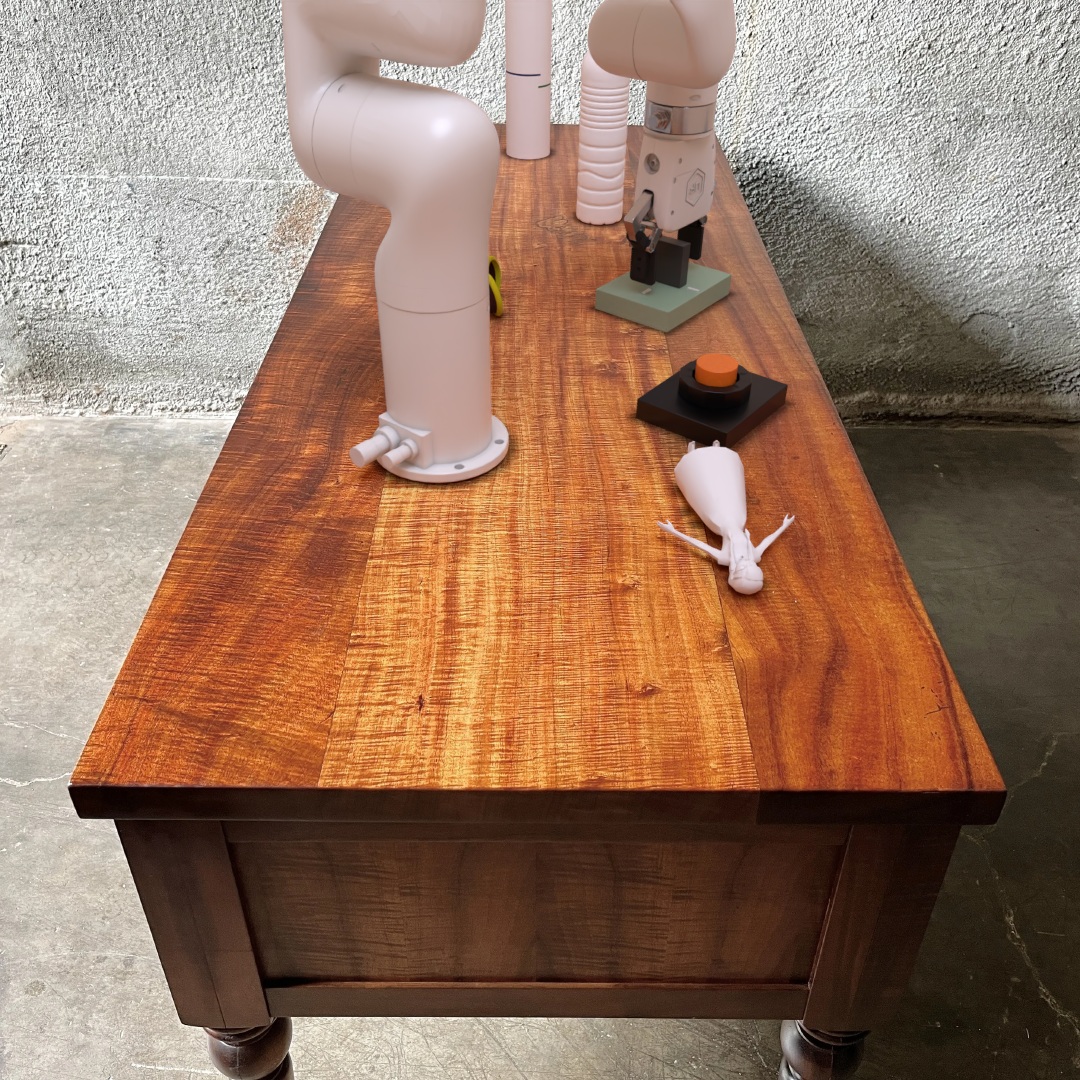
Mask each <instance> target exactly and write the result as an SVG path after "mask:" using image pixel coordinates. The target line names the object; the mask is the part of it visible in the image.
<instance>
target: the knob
mask: <svg viewBox="0 0 1080 1080" xmlns="http://www.w3.org/2000/svg"><path fill="white" fill-rule="evenodd" d="M650 235H651V233H649V234H648V235H646V236H647V237H648V239H649V237H650ZM690 244H691V243H688V242H685V241H681V240H678V239H677V238H674V237H670V236H666V235H663V233H662V234H661V236H660V238H659V240H658V243H657V245H656V247H655V249H654V250H656V251H658V259H657V271H656V281H657V282H660V283H663V284H666V285H670V286H673V287H676V288H681V287H683V286H684V285H686V284H687V274H688V264H689V262H690V258H689V254H690Z"/></svg>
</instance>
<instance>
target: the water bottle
mask: <svg viewBox="0 0 1080 1080" xmlns="http://www.w3.org/2000/svg"><path fill="white" fill-rule="evenodd" d="M580 82H581V83H580V104H579V109H580V110H579V127H578V140H579V142H578V149H577V153H578V158H577V170H578V172H577V177H576V178H577V187H576V197H577V199H576V207H575V215H576V218H577V220H579V221H581V222H583V223H585V224H591V225H596V226H603V225H613V224H615V223H618V222H620V221H621V219H622V218H623V213H624V212H623V211H624V200H623V199H624V191H625V190H624V189H625V188H624V187H625V186H624V184H625V174H626V169H625V166H626V156H627V143H626V142H627V139H628V121H629V119H628V117H629V103H630V90H631V89H630V88H631V85H630V83H631V78H625V77H621V76H616V75H613V74H611V73H608V72H606V71H604V70H603V69H601V68H600V67H599V66H598V65H597V64H596V63H595V61H594V60H593V58H592V56H591V54H590V52H589V49H588V50H587V52H586V53H585V54H584V56H583V57H582V60H581V66H580Z"/></svg>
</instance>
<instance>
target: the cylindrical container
mask: <svg viewBox="0 0 1080 1080" xmlns="http://www.w3.org/2000/svg"><path fill="white" fill-rule="evenodd" d="M552 35H553V0H504V42H505V43H504V44H505V45H504V48H505V49H504V50H505V52H504V53H505V56H504V57H505V140H506V141H505V144H506V145H505V146H506V149H505V150H506V151H505V152H506V155H507V156H509V157H511V158H513V159H518V160H538V159H543V158H546V157H548V156H550V153H551V110H552V109H551V107H552V106H551V105H552V102H551V101H552V48H553V47H552V45H553V44H552V43H553V41H552V40H553V36H552Z"/></svg>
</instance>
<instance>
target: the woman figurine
mask: <svg viewBox="0 0 1080 1080" xmlns="http://www.w3.org/2000/svg"><path fill="white" fill-rule="evenodd" d="M673 474H674V478H675V483H676V485H677V487H678V488H679V490H680V491H681V493H682V495H683V496H684V498H685V500H686V502H687V503H688V504H689V505H690V507H691V508H692V509H693V510H694V512H695V513H696V514H697V515H698V517H699V518H700V520H701V521H702V522H703V523H704V524H705V526H706V527H707V528H708V529H709V530H711V532H712V533H714V534H716V535H717V536H721V537H722V545H721V550H720V549H717V548H716V547H712V546H711V545H709V544H707V543H706V542H703V541H701V540H699V539H696V538H695V537H692V536H691V537H690V536H689V535H686V534H684V533H682V532H680V531H679V530H676V529H675V527H674V524H672V523H671V522H670V520H668V519H665V522H666V523H667V524H666V523H663V522H661V521H660V520H658V521H657V522H656V525H657V527H659V529H661V531H663V532H665V533H668V534H671V535H673V536H674V537H677V538H678V539H680V540H682V541H684V542H685V543H687V544H688V545H690V546H691V547H693V548H696V549H699V550H700V551H702V552H704V553H705V554H707V555H709V556H710V557H711V558H712V559H714V560H715V561H717V564H718V565H722V566H726V567H728V572H729V573H728V574H729V576H728V579H727V581H728V582H727V583H728V584H729V586H730V587H731V588H733V590H734V591H735V592H738V593H740V594H744V595H752V594H755V593H757V592H759V591H761V590H762V589H763V586H764V582H763V581H764V572H763V571H762V568H761V567H760V566H758V565H757V563H760V562H761V560H762V557H761V556H762V555H763V553H764V551H766V549H768V547H769V546H771V545H772V544H773V543H774V542H775V541H776V540H777V539H778V538H779V537H780V536H781V534H782V533H784V531H786V530H787V529H788V527H790V526H791V525H792V523H793V522H794V521H795V518H796V517H795V516H796V515H793V516H792V517H790V518H788V517H789V514H788V513H787V514H786V515H785V517H784V519H783V521H782V525H781V526H780V527H779V528H778V529H776V530H775V531H774V532H773V533H771V534H769V535H768V536H766V537H764V538H763V540H762V541H761V542H760V543H759V544H758V545H757V546H756V547H755V546H754V544H753V542H752V541H751V538H750V537H751V533H750V531H749V530H748V529H747V528H746V524H747V514H748V512H747V496H746V494H747V493H746V480H745V479H746V478H745V467H744V465H743V462H742V460H741V457H740V455H739V454H738V452H736V451H734V450H732V449H731V448H729V449H728V448H726V447H720V445H719V441H718V440H716V441H714V442H713V447H708V446H705V447H698V448H696V441H693V440H691V442H688V446H687V453H686V454H684V455H683V456H682V457H681V458H680V460H679V462H678V463H677V465H676V466H675V467H674V468H673Z"/></svg>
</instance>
